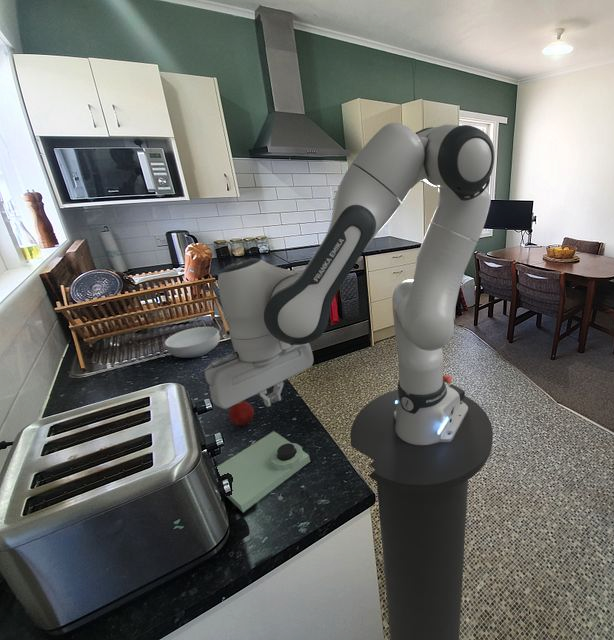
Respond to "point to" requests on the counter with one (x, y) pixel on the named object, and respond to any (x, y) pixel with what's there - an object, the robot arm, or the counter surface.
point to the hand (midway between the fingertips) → (273, 402)
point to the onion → (241, 413)
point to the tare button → (286, 452)
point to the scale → (260, 469)
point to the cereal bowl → (193, 342)
